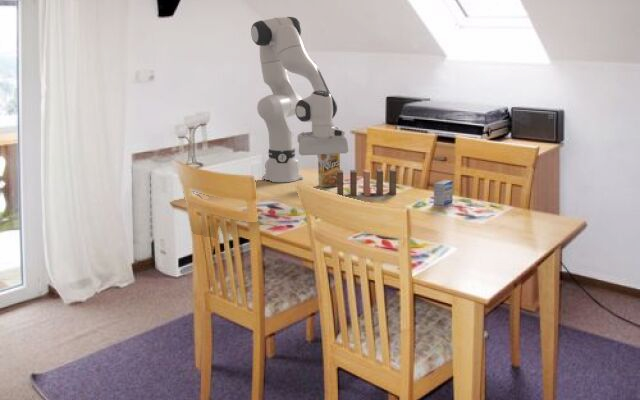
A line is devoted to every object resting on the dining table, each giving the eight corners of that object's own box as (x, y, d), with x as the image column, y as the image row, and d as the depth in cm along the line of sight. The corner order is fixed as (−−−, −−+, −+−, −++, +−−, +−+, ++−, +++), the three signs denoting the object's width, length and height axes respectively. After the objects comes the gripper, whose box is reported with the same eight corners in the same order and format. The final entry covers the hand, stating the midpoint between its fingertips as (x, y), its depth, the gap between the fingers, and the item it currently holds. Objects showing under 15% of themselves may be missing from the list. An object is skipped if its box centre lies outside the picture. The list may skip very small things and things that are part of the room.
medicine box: (443, 206, 288) (444, 184, 286) (433, 204, 291) (433, 183, 289) (452, 201, 294) (453, 180, 292) (442, 200, 297) (443, 179, 295)
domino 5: (389, 192, 311) (389, 168, 308) (393, 191, 311) (394, 168, 309) (391, 194, 306) (391, 171, 304) (396, 194, 306) (396, 171, 304)
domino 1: (337, 193, 309) (337, 170, 307) (342, 193, 309) (341, 170, 307) (338, 196, 304) (338, 173, 302) (343, 196, 305) (343, 172, 302)
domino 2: (350, 193, 310) (350, 170, 307) (355, 193, 310) (355, 169, 307) (351, 196, 305) (351, 172, 302) (356, 196, 305) (356, 172, 302)
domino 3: (363, 192, 310) (363, 169, 308) (368, 192, 310) (368, 169, 308) (365, 195, 305) (365, 172, 303) (369, 195, 305) (370, 172, 303)
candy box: (321, 187, 320) (320, 152, 316) (318, 185, 324) (317, 151, 320) (340, 186, 322) (340, 151, 318) (337, 183, 326) (337, 149, 322)
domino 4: (376, 192, 310) (376, 169, 308) (380, 192, 311) (381, 169, 308) (378, 195, 306) (378, 171, 303) (382, 195, 306) (383, 171, 303)
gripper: (297, 133, 296) (299, 167, 299) (348, 131, 297) (349, 165, 300) (296, 131, 302) (298, 164, 305) (346, 129, 303) (347, 162, 306)
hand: (323, 164), depth 303 cm, fingers closed
